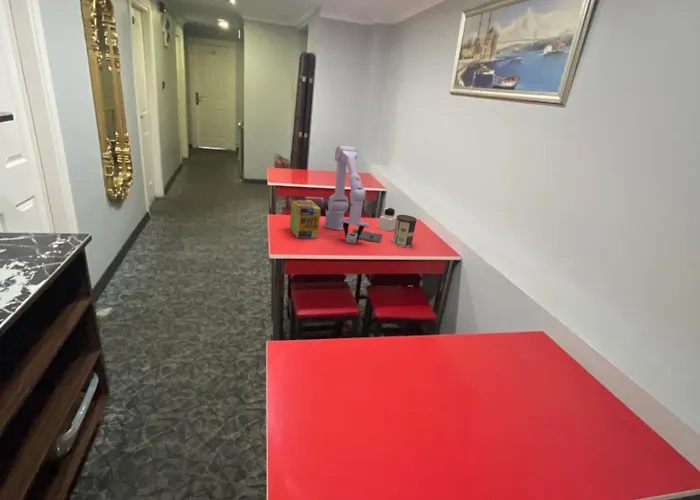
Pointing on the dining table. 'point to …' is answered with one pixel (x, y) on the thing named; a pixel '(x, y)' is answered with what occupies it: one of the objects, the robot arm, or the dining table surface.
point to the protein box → (304, 218)
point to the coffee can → (404, 230)
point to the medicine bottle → (387, 220)
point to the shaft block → (368, 236)
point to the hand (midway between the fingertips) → (351, 238)
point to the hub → (351, 238)
